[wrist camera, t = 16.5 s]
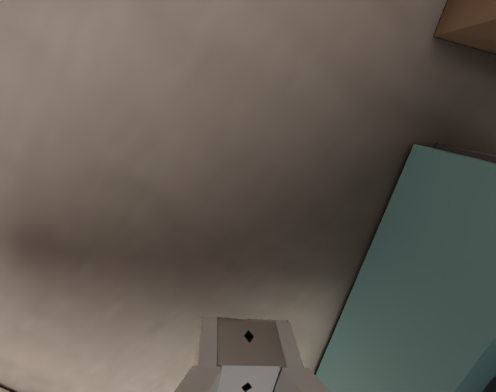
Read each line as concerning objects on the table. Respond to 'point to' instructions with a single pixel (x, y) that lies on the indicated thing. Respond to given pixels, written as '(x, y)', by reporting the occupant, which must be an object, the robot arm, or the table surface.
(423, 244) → the tray
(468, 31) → the walnut block
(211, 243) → the table surface
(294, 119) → the table surface
